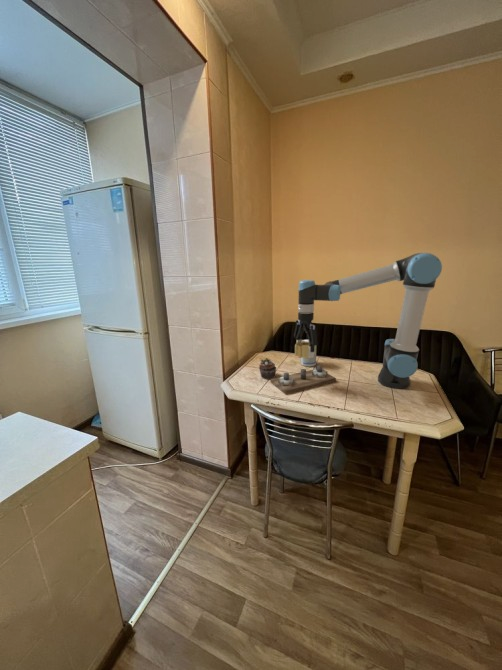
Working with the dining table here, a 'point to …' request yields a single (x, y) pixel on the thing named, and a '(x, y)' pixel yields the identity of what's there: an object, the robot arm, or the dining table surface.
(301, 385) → the gear board
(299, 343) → the brass gear
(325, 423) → the dining table surface
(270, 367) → the cupcake
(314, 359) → the supplement tub
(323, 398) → the dining table surface
